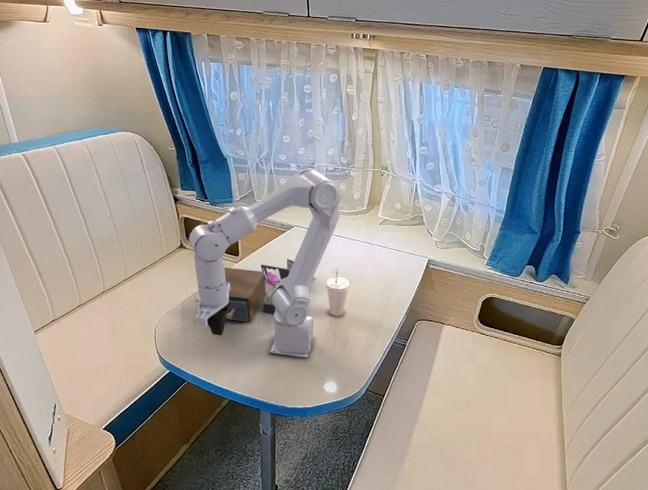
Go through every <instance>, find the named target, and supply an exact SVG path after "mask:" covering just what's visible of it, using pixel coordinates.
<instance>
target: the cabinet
mask: <svg viewBox="0 0 648 490" xmlns="http://www.w3.org/2000/svg"><path fill="white" fill-rule="evenodd" d="M224 269H225V279H226V282H228V283H230V287H231V290H230V291H229V299H236V300H244V301H247V311H248V320H247V321H246V322H247V323H248V322H249V323H251V322H252V320H253V318H254V316H255V314H256V312H257V311H258V309H259V307H260V306H261V303H262V301H263V299H264V298H265V296H266V280H265V277H266V274H265V271H264V272H262V271H260V270H251V269H241V268H231V267H224ZM264 274H265V275H264Z"/></svg>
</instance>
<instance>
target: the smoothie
mask: <svg viewBox="0 0 648 490" xmlns="http://www.w3.org/2000/svg"><path fill="white" fill-rule="evenodd" d="M338 276H339V269H338V268H336V269H335V277H331V278H329V279H327V281H326V288H327V296H328V305H329V313H330V314H331V316H336V317H339V316H342V315H343V314H344V310H345V304H346V300H347V295H348V290H349V289H350V287H351V286H350V281H349V280H348V279H346V278H344V277H338Z"/></svg>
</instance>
